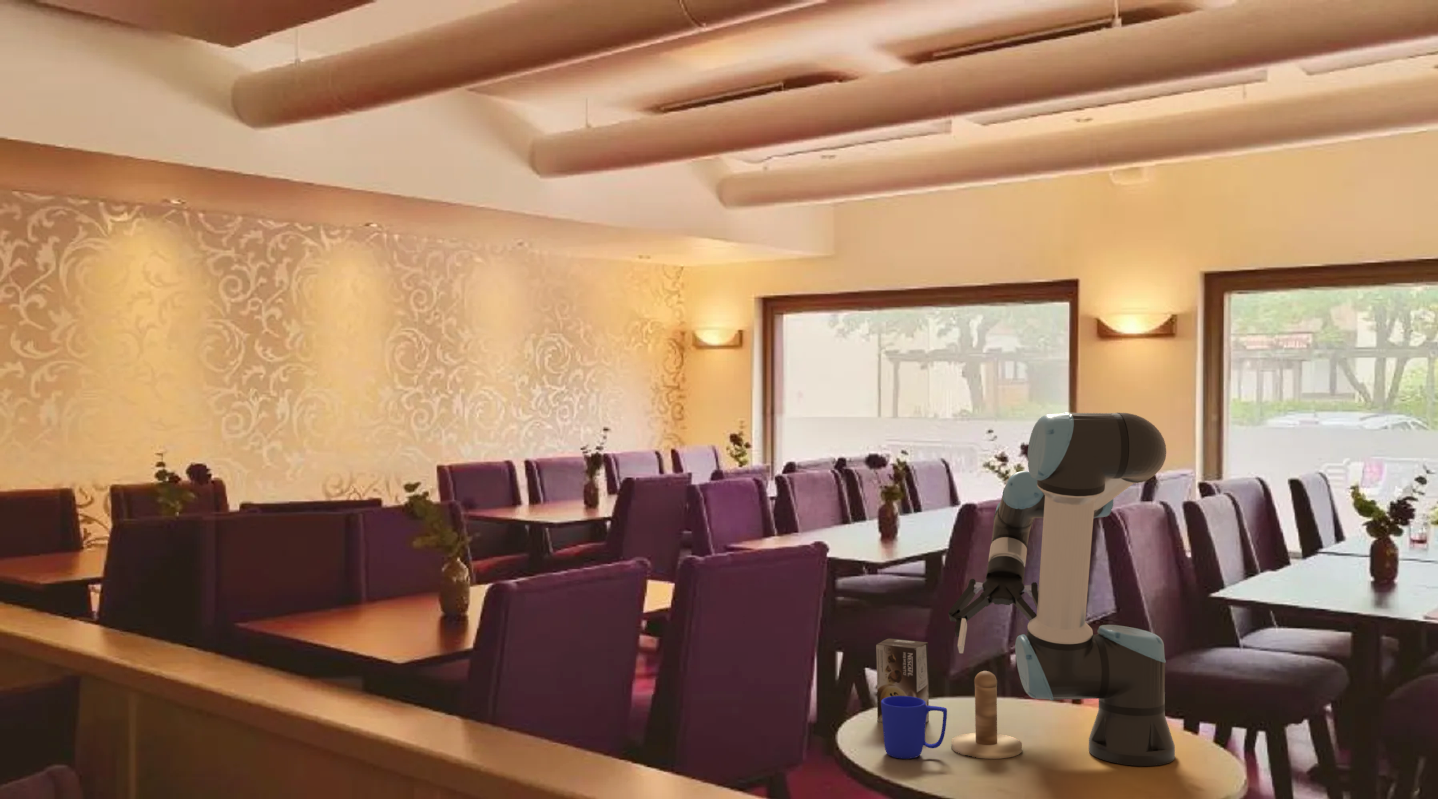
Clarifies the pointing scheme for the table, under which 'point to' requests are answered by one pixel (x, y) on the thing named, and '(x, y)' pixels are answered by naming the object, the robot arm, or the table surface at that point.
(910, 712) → the mug
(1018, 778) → the table surface
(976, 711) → the wooden peg on disc
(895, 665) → the coffee box
